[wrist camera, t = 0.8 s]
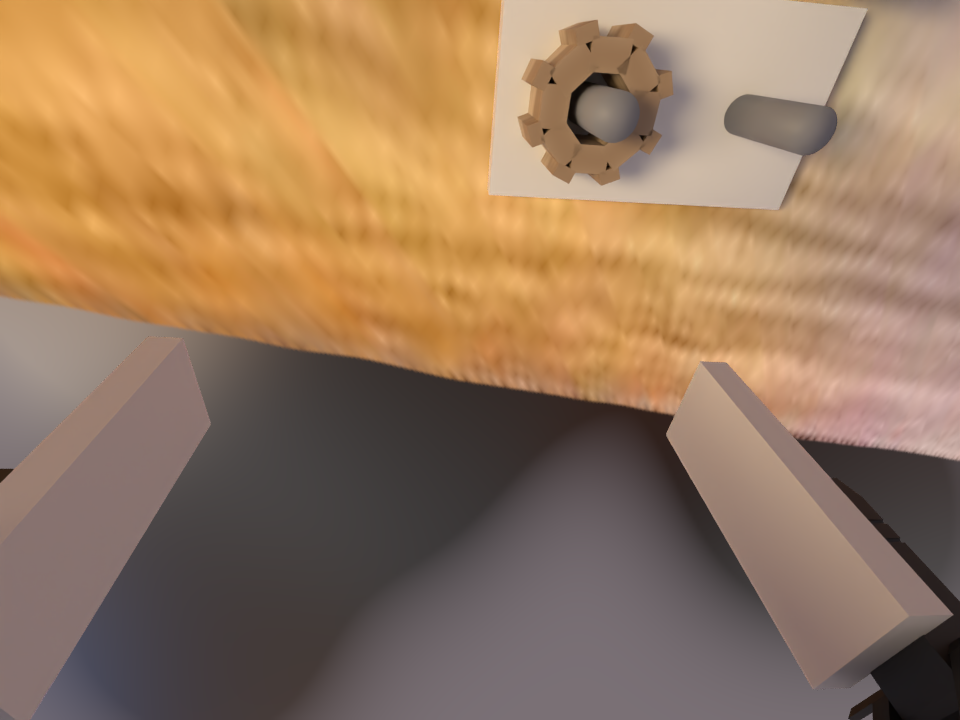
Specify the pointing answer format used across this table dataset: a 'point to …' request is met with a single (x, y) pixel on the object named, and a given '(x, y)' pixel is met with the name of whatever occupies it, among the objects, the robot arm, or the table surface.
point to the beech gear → (570, 67)
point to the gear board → (682, 98)
